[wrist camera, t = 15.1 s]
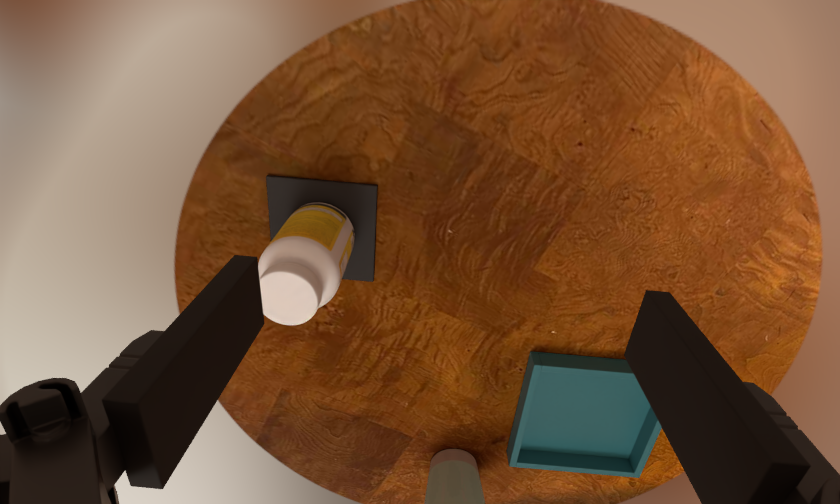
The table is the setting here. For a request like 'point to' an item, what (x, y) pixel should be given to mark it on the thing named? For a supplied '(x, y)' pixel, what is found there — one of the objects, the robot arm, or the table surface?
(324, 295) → the pill bottle
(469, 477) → the coffee cup
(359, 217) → the mat
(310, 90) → the table surface
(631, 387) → the tray
